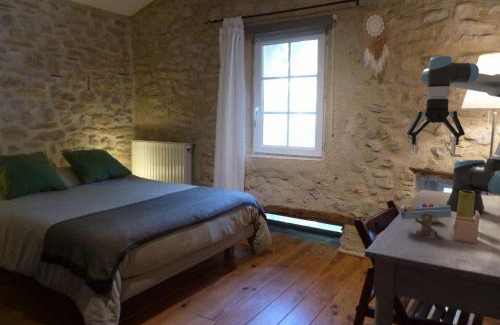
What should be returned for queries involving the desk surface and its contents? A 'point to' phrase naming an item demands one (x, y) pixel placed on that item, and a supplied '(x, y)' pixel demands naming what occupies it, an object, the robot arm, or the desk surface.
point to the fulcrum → (426, 227)
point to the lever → (418, 213)
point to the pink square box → (466, 229)
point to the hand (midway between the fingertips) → (433, 153)
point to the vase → (465, 204)
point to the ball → (409, 208)
